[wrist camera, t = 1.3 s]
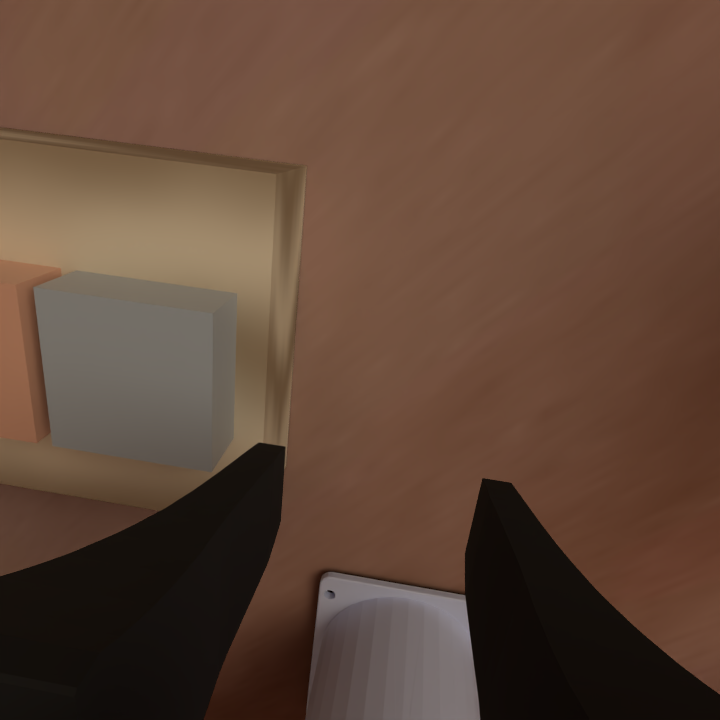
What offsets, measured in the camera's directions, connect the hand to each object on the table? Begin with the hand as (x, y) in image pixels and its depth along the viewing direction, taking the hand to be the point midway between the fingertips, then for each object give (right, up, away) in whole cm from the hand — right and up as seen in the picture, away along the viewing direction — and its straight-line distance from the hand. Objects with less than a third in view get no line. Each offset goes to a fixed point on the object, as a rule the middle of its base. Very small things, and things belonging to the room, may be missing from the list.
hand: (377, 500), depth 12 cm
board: (-10, +5, +9) cm, 14 cm away
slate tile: (-7, +3, +5) cm, 9 cm away
